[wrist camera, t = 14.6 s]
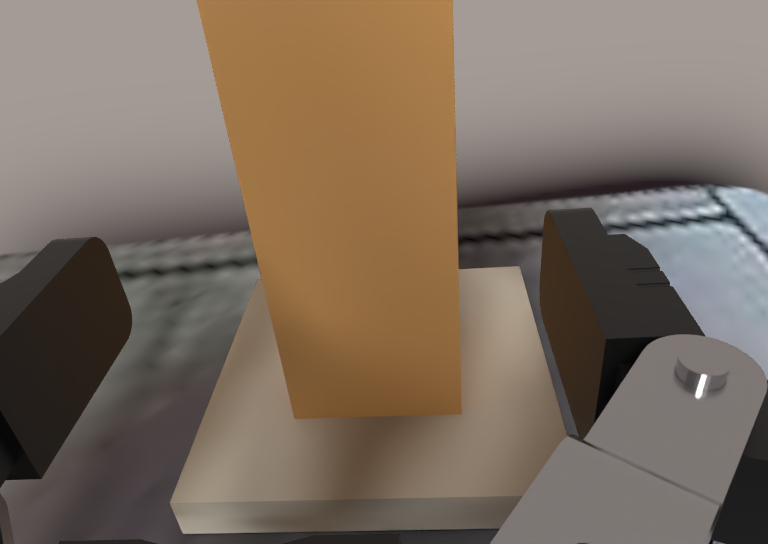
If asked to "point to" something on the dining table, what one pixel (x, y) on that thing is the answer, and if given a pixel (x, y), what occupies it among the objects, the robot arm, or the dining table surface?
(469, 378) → the stub plate
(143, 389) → the dining table surface
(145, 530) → the dining table surface
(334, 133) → the orange tall block
